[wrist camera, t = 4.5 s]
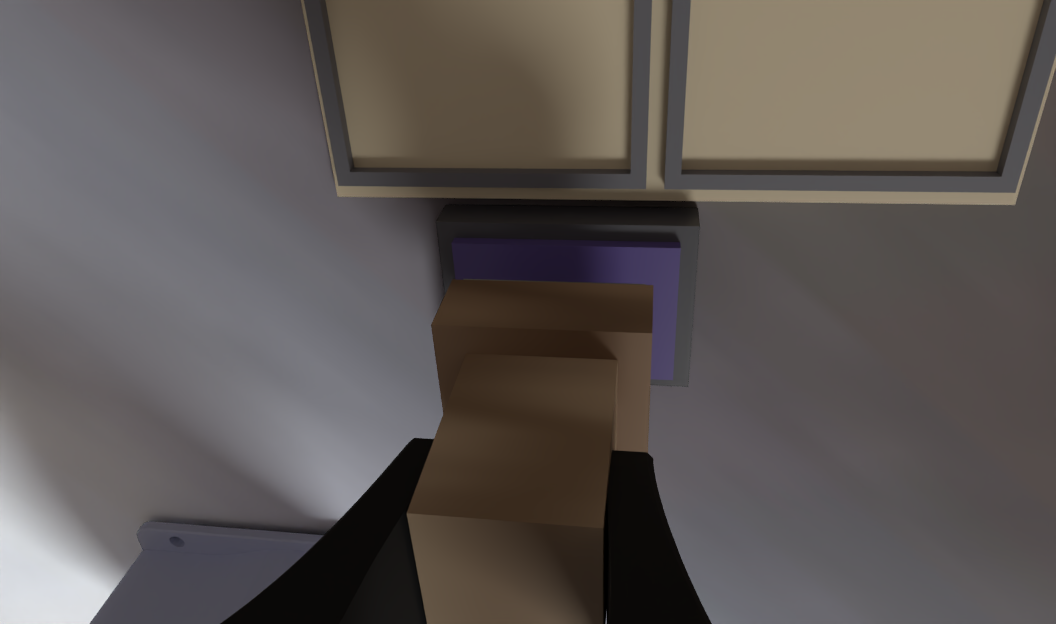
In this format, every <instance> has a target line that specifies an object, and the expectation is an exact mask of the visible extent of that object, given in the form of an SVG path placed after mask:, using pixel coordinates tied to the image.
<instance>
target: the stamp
mask: <svg viewBox="0 0 1056 624" xmlns="http://www.w3.org/2000/svg"><path fill="white" fill-rule="evenodd" d="M431 327H432V334H433V342H434V349H435V356H436V363H437V371H438V378H439V385H440V392H441V400H442V407H443V417H442V420H441V422H440V425H439V428H438V430H437V433H436V436H435V438H434V441H433V444H432V446H431V449H430V452H429V454H428V457H427V460H426V462H425V465H424V468H423V470H422V473H421V476H420V479H419V481H418V484H417V487H416V489H415V492H414V495H413V497H412V500H411V503H410V505H409V508H408V511H407V518H408V524H409V529H410V534H411V540H412V545H413V551H414V556H415V561H416V567H417V572H418V578H419V583H420V588H421V594H422V599H423V604H424V610H425V615H426V621H427V624H605V622H606V608H607V488H608V478H609V469H610V461H611V453H612V450H618V451H635V452H647V453H648V431H649V406H650V381H651V356H652V330H653V285H646V284H627V283H592V282H557V281H523V280H488V279H463V280H456V279H452V281H451V283H450V286H449V288H448V290H447V292H446V294H445V296H444V299H443V301H442V303H441V305H440V307H439V309H438V311H437V314H436V316H435V318H434V320H433V322H432V324H431Z"/></svg>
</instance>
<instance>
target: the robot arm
mask: <svg viewBox="0 0 1056 624" xmlns="http://www.w3.org/2000/svg"><path fill="white" fill-rule="evenodd" d="M433 441H434V439H422V438H414V439H413V440H411V441H410V442H409V443H408V444H407V445H406V446H405V448H404V449H403V450H402V451H401V452H400V453H399V455H398V456H397V457H396V458H395V459H394V460H393V462H392V463H391V464H390V465H389V466H388V467H387V468H386V470H385V471H384V472H383V473H382V474H381V475H380V477H379V478H378V479H377V480H376V481H375V482H374V483H373V484H372V485H371V487H370V488H369V489H368V490H367V491H366V492H365V493H364V494H363V495H362V496H361V498H360V499H359V500H358V501H357V502H356V503H355V504H354V505H353V506H352V507H351V508H350V509H349V510H348V511H347V512H346V513H345V515H344V516H343V517H342V518H341V519H340V520H339V521H338V522H337V523H336V524H335V525H334V526H333V527H332V528H331V529H330V530H329V531H328V532H327V533H326V534H325V535H314V534H302V533H289V532H277V531H265V530H252V529H240V528H227V527H215V526H203V525H190V524H178V523H166V522H153V521H151V522H145V523H144V524H143V525H142V526H141V527H140V529H139V530H138V532H137V538H138V540H139V542H140V545H141V547H142V549H143V551H142V552H141V553H140V555H139V556H138V558H137V559H136V560H135V562H134V563H133V565H132V566H131V567H130V569H129V570H128V571H127V573H126V574H125V576H124V577H123V578H122V580H121V581H120V582H119V584H118V585H117V587H116V588H115V589H114V591H113V592H112V593H111V595H110V596H109V598H108V599H107V600H106V602H105V603H104V605H103V606H102V607H101V609H100V610H99V611H98V613H97V614H96V616H95V617H94V618H93V620H92V621H91V622H90V624H427V621H426V615H425V610H424V604H423V599H422V594H421V588H420V583H419V578H418V572H417V567H416V561H415V556H414V551H413V545H412V540H411V534H410V529H409V524H408V518H407V511H408V508H409V505H410V503H411V500H412V497H413V495H414V492H415V489H416V487H417V484H418V481H419V479H420V476H421V473H422V470H423V468H424V465H425V462H426V460H427V457H428V454H429V452H430V449H431V446H432V444H433ZM606 609H607V624H712V623H711V622H710V620H709V618H708V616H707V614H706V612H705V610H704V608H703V606H702V604H701V602H700V600H699V597H698V595H697V593H696V591H695V589H694V587H693V584H692V582H691V580H690V578H689V576H688V573H687V571H686V569H685V566H684V564H683V562H682V559H681V557H680V554H679V552H678V549H677V546H676V544H675V541H674V538H673V536H672V533H671V530H670V528H669V525H668V522H667V519H666V516H665V513H664V509H663V506H662V503H661V499H660V496H659V492H658V488H657V483H656V479H655V473H654V466H653V458H652V457H651V456H650V455H649V454H648V453H647V452H635V451H618V450H612V453H611V461H610V469H609V478H608V488H607V608H606Z"/></svg>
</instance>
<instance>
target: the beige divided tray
mask: <svg viewBox="0 0 1056 624" xmlns="http://www.w3.org/2000/svg"><path fill="white" fill-rule="evenodd" d="M301 4H302V9H303V15H304V20H305V25H306V31H307V36H308V41H309V47H310V52H311V57H312V62H313V68H314V73H315V78H316V84H317V89H318V94H319V100H320V105H321V110H322V116H323V121H324V126H325V131H326V137H327V142H328V147H329V153H330V158H331V163H332V169H333V174H334V179H335V185H336V190H337V195H338V197H404V198H486V199H567V200H649V201H731V202H812V203H894V204H976V205H1015V203H1016V199H1017V196H1018V193H1019V189H1020V186H1021V183H1022V179H1023V176H1024V173H1025V169H1026V166H1027V162H1028V159H1029V156H1030V152H1031V149H1032V146H1033V142H1034V139H1035V135H1036V132H1037V129H1038V125H1039V122H1040V119H1041V115H1042V112H1043V108H1044V105H1045V102H1046V98H1047V95H1048V92H1049V88H1050V85H1051V82H1052V78H1053V75H1054V71H1055V68H1056V0H301Z"/></svg>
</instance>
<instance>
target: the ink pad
mask: <svg viewBox="0 0 1056 624" xmlns="http://www.w3.org/2000/svg"><path fill="white" fill-rule="evenodd" d="M436 226H437V235H438V243H439V251H440V260H441V268H442V276H443V284H444V293H445V294H446V292H447V290H448V288H449V286H450V283H451V281H452V279H456V280H463V279H488V280H523V281H557V282H592V283H627V284H646V285H653V330H652V356H651V381H650V385H660V386H682V387H688V384H689V370H690V356H691V342H692V328H693V314H694V300H695V286H696V272H697V258H698V244H699V230H700V224H699V213H698V208H662V207H588V206H514V205H446V206H445V207H444V209H443V211H442V212H441V214H440V216H439V218H438V219H437V221H436Z"/></svg>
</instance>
